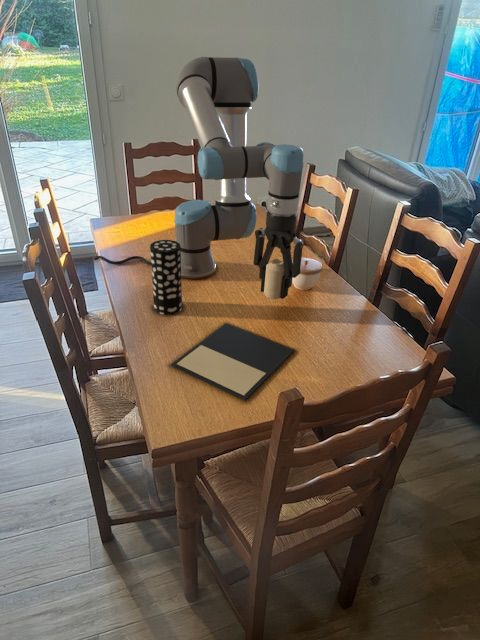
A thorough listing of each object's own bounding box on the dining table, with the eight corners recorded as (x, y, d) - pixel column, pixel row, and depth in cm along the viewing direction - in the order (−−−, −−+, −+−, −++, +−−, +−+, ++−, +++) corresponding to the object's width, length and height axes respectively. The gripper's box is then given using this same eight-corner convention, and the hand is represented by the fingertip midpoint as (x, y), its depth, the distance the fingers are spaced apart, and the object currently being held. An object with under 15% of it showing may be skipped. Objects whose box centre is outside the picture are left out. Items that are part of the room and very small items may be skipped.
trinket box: (318, 295, 150) (322, 269, 145) (285, 290, 152) (287, 264, 147) (320, 280, 159) (323, 255, 154) (288, 276, 161) (291, 251, 156)
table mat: (170, 365, 116) (170, 364, 116) (225, 324, 134) (225, 322, 133) (245, 401, 106) (245, 399, 106) (294, 351, 124) (294, 349, 123)
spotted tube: (186, 304, 142) (185, 242, 131) (174, 317, 135) (172, 253, 125) (162, 298, 144) (158, 237, 134) (148, 311, 138) (144, 248, 127)
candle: (262, 289, 130) (265, 256, 125) (282, 289, 131) (285, 256, 126) (265, 299, 126) (268, 265, 120) (285, 299, 126) (289, 266, 121)
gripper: (242, 207, 117) (238, 288, 130) (308, 225, 109) (297, 309, 122) (257, 200, 122) (252, 278, 135) (322, 216, 114) (310, 298, 127)
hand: (273, 293), depth 128 cm, fingers closed on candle, 5 cm apart
